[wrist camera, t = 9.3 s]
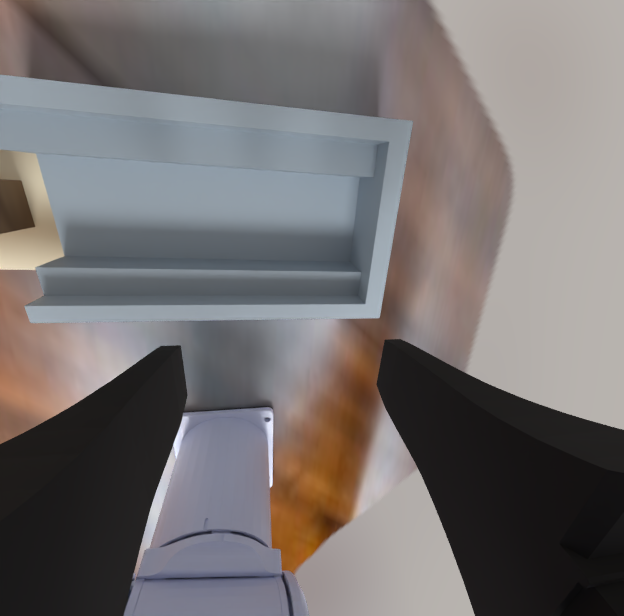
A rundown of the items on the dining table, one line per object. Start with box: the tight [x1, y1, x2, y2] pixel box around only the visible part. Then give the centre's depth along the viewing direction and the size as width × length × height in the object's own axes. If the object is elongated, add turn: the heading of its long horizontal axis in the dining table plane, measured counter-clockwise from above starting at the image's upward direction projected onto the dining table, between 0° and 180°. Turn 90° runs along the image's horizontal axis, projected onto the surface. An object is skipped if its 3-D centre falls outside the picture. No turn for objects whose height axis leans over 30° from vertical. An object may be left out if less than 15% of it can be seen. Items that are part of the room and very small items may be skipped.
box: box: [0, 75, 413, 323], centre depth 16 cm, size 10×18×4 cm, turn 86°
